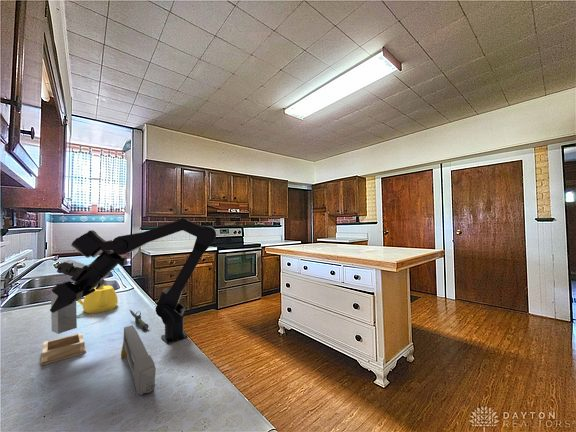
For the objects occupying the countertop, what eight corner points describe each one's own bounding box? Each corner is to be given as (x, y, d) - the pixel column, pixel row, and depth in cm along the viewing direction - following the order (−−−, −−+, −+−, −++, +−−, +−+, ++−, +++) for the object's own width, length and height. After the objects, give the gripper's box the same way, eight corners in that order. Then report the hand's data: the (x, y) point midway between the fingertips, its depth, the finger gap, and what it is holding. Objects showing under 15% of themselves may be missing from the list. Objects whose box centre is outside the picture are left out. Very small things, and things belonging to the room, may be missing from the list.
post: (76, 327, 77) (75, 288, 77) (58, 333, 73) (57, 292, 73) (70, 325, 79) (69, 286, 79) (51, 331, 75) (50, 290, 75)
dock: (85, 352, 75) (85, 341, 75) (40, 365, 69) (40, 354, 69) (83, 341, 82) (83, 332, 82) (41, 352, 76) (41, 342, 76)
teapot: (73, 307, 117) (72, 284, 117) (113, 299, 127) (113, 278, 127) (75, 321, 100) (75, 293, 100) (121, 310, 111) (121, 286, 111)
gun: (137, 431, 57) (143, 379, 53) (116, 352, 74) (119, 308, 70) (152, 423, 59) (159, 373, 55) (129, 348, 76) (133, 306, 72)
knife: (126, 315, 101) (126, 303, 101) (131, 313, 103) (132, 301, 102) (143, 334, 89) (143, 321, 88) (149, 332, 90) (150, 319, 90)
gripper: (93, 247, 86) (54, 283, 83) (59, 254, 68) (9, 300, 65) (120, 268, 88) (83, 304, 85) (94, 280, 70) (46, 326, 67)
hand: (58, 307), depth 76 cm, fingers closed on post, 6 cm apart
